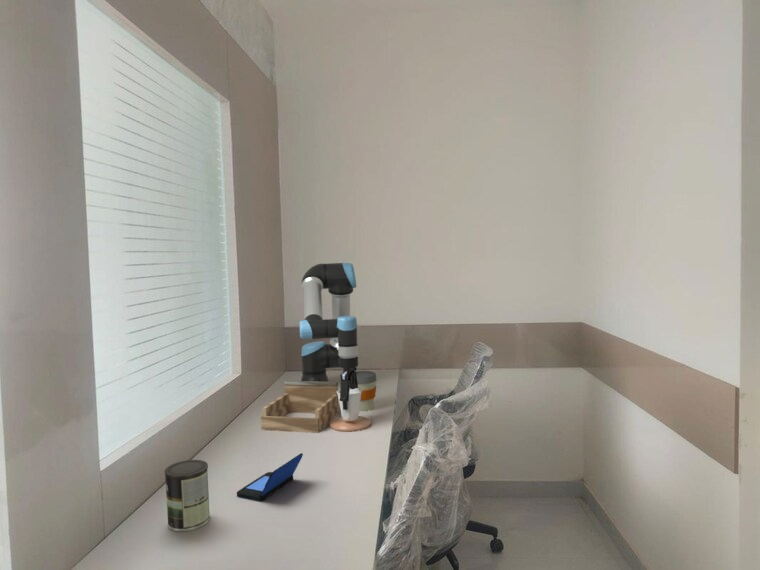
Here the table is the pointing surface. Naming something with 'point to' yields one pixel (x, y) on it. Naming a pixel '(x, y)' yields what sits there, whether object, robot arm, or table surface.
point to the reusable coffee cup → (366, 389)
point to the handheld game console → (270, 481)
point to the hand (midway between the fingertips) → (350, 413)
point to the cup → (352, 403)
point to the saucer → (350, 424)
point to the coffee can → (187, 495)
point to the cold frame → (302, 407)
